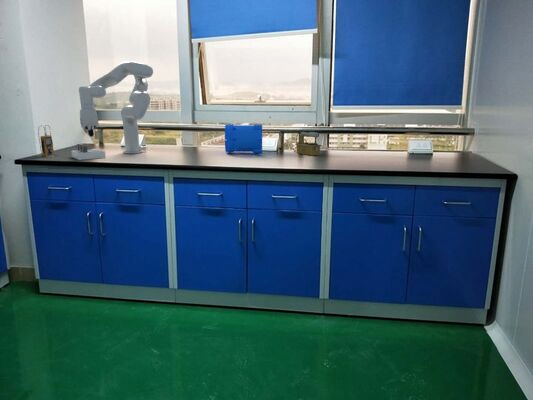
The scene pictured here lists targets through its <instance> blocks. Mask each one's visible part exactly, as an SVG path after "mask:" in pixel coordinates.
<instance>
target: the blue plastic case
mask: <svg viewBox="0 0 533 400" xmlns="http://www.w3.org/2000/svg"><path fill="white" fill-rule="evenodd" d="M224 151H225V153H228V154H229V153H230V154H231V153H232V152H233V153H236V152H239V153H241V152H243V153H245V152H249V153H251V152H252V153H253V154H263V124H253V125H251V124H250V125H249V124H247V125H246V124H244V125H243V124H242V125H241V124H239V125H237V124H236V125H234V124H233V123H232V124H231V123H230V124H229V123H228V124H224Z"/></svg>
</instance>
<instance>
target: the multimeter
mask: <svg viewBox="0 0 533 400" xmlns="http://www.w3.org/2000/svg"><path fill="white" fill-rule="evenodd" d="M40 127H41V125H39V126H38V129H37V130H38V133H37V134H38V135H40ZM48 127H49V129H51V127H50V126H48ZM43 129H44V130H43V131H46V130H47V128H46V126H44V127H43ZM49 133H50V135H48V134H47V132H45V133H44V135H41V136H39V138H38V141H39V142H38V143H40V145H39V147H40V148H39V149H40V150H41V151H40V152H41V153H40V154H41V157H42V158H45V159H46V158H47V157H48V158H49V157H50V158H53V157H58V156H59V154H56V153H55V151H54V144H53V143H54V142H53V137H52V135H51V134H52V133H51V132H49Z"/></svg>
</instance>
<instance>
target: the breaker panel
mask: <svg viewBox="0 0 533 400" xmlns="http://www.w3.org/2000/svg"><path fill="white" fill-rule="evenodd" d="M87 151H88V152H82V151H80V150H77V149H73V150H71V156H72V157H71V158H74V159H76V160H78V161H82V160H93V159H105V158H106V152H105V150H102V149H99V148H91V149H88V148H87Z"/></svg>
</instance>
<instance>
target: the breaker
mask: <svg viewBox="0 0 533 400" xmlns="http://www.w3.org/2000/svg"><path fill="white" fill-rule="evenodd" d="M87 149H88V146H87V145H84V146H82V152H88V151H87Z"/></svg>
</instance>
